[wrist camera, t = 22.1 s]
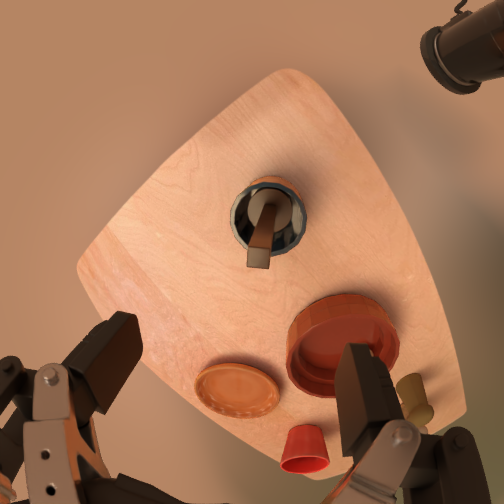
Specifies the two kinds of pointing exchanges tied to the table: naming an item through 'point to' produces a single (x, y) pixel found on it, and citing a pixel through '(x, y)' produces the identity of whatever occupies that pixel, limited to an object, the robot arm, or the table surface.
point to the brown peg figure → (415, 399)
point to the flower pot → (305, 450)
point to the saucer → (237, 391)
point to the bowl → (336, 340)
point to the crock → (281, 239)
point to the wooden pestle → (266, 223)
